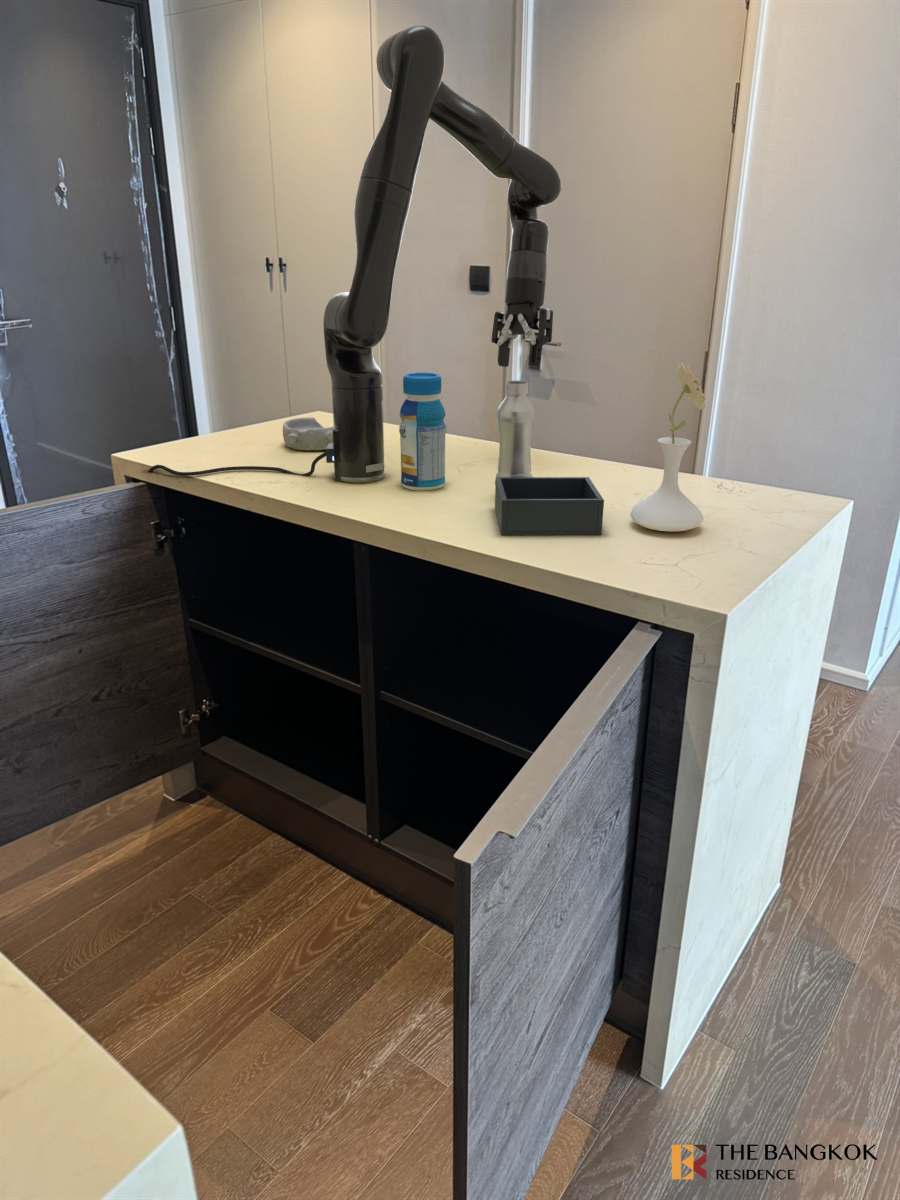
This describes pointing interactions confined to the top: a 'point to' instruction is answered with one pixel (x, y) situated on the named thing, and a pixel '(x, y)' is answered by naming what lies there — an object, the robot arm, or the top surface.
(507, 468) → the plastic bottle
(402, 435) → the beverage bottle
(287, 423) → the dish
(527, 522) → the black open rectangular box
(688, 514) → the flower in vase
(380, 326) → the robot arm
